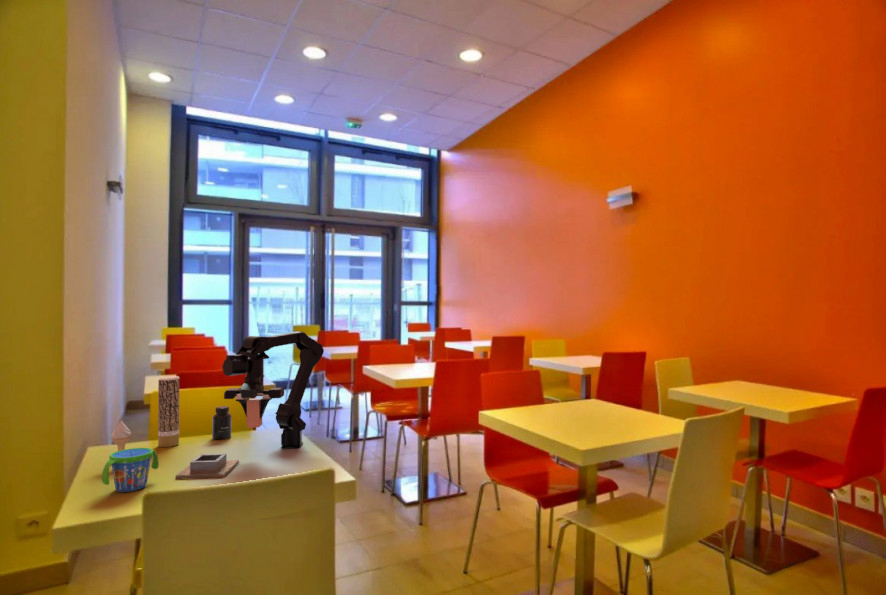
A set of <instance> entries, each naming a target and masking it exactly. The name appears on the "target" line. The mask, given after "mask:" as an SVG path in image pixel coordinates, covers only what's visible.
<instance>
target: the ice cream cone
mask: <svg viewBox="0 0 886 595" xmlns="http://www.w3.org/2000/svg"><path fill="white" fill-rule="evenodd" d="M110 436H111V438H112V441H113V443H114V444H115V445H116V446H117V451H121V450H125V447H126V445H127V443H128V442H129V440H130V437H131V436H132V431H131V430H130V429H129V428H128V426H127V425H126V424H125V422H124V421H123V419H120V421H119V423H118V424H117V426H116V428H115V429H114V430H113V431H112V433H111V434H110Z"/></svg>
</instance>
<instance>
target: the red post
mask: <svg viewBox="0 0 886 595" xmlns="http://www.w3.org/2000/svg"><path fill="white" fill-rule="evenodd" d="M262 398H263V397H262ZM262 398H249V400H247V417H246V428H260V427H262V425H263V417H262V418H261V419H260V408H261V401H260V400H261V399H262Z"/></svg>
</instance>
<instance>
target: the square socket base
mask: <svg viewBox="0 0 886 595" xmlns="http://www.w3.org/2000/svg"><path fill="white" fill-rule="evenodd" d="M238 463H239V464H240V460H239V459H231V460H230V459H229V460H228V459H227V453H208V454H207V453H206V454H204V453H203V454H199V455H198V456H197V457H196V458H194V459H192V460H191V461H190V463H189V465H188V466H186V467H185V468H184V469H183V470H181V471H180V472H178V473H177V474H175V480H182V479H181V478H193V479H223V478H222V477H224V478H225V477H226V476H227V475H228V474H230V472H232V471H233V470H234V469H235V468H236V467H237V466H238V465H239V464H238ZM237 464H238V465H237ZM235 466H236V467H235Z"/></svg>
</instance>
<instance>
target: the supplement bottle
mask: <svg viewBox="0 0 886 595" xmlns="http://www.w3.org/2000/svg"><path fill="white" fill-rule="evenodd" d="M229 412H230V407H229V406H227V405H222V406H221V405H220V406H216V407H215V412H214V413H215V414H213V416H212V429H211V430H212V431H211V433H212V434H211V437H212V440H216V441H222V440H228V439H230V438H231V437H232V419H233V418H232V414H231V413H229Z"/></svg>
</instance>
